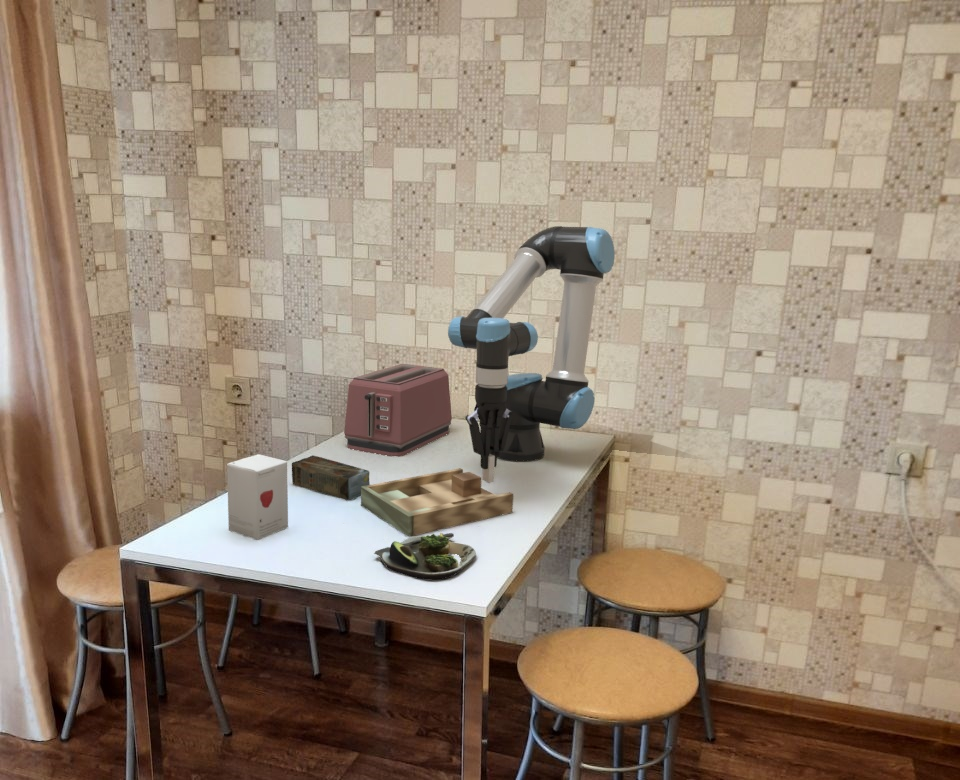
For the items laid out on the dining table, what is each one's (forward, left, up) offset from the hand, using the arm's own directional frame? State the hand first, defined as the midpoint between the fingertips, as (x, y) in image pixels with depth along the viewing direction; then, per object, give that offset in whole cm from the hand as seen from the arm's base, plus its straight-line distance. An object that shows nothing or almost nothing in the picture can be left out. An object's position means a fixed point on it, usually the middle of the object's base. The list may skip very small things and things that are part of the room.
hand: (488, 480), depth 194 cm
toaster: (-6, -54, -5) cm, 55 cm away
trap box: (+15, 0, -4) cm, 16 cm away
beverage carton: (+29, -25, -5) cm, 39 cm away
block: (+6, 0, -2) cm, 7 cm away
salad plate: (+31, +23, -5) cm, 39 cm away
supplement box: (+53, -9, -5) cm, 54 cm away
